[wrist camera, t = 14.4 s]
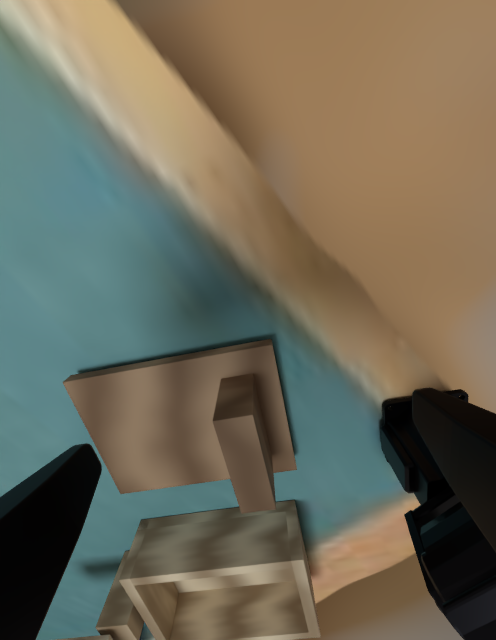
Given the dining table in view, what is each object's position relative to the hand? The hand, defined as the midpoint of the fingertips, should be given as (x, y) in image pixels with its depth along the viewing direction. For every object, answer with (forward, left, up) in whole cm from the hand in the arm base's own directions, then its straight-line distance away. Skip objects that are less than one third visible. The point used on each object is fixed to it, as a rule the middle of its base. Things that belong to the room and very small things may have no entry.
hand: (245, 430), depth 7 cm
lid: (+7, +9, -13) cm, 18 cm away
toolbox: (+10, +27, -13) cm, 31 cm away
